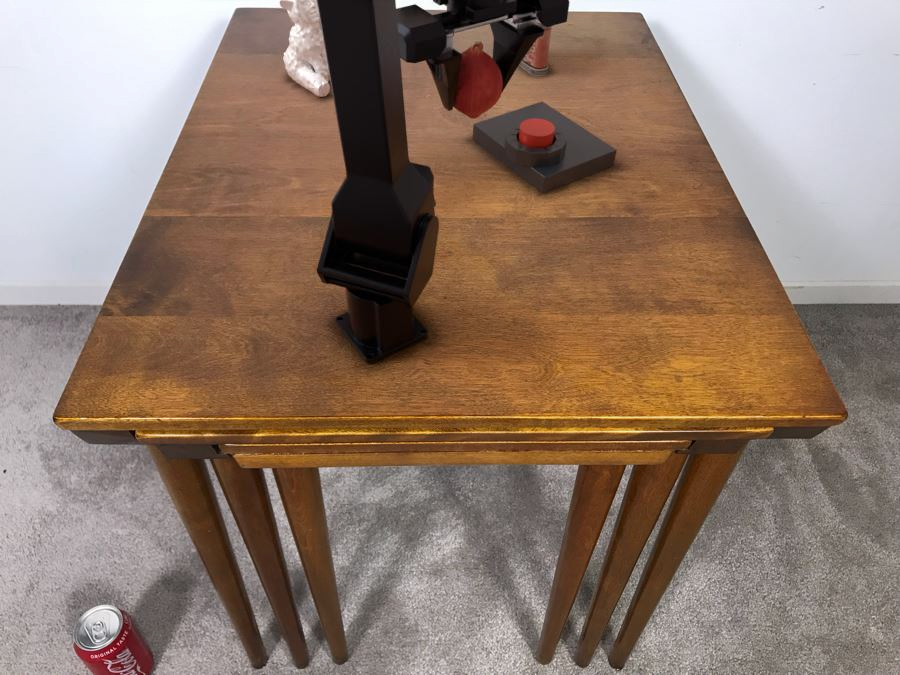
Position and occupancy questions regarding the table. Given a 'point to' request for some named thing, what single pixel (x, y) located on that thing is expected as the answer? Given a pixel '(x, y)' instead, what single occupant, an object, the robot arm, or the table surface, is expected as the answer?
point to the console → (544, 166)
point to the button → (536, 133)
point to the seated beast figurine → (306, 47)
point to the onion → (477, 82)
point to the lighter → (538, 53)
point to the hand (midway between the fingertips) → (472, 101)
